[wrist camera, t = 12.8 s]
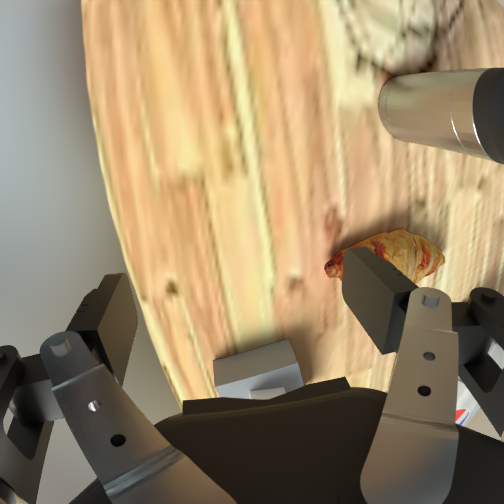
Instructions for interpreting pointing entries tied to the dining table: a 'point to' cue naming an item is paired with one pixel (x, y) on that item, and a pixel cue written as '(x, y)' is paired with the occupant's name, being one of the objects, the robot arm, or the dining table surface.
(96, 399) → the robot arm
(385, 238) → the croissant
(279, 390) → the white block
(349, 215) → the dining table surface
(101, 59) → the dining table surface
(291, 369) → the grey box
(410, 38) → the dining table surface
